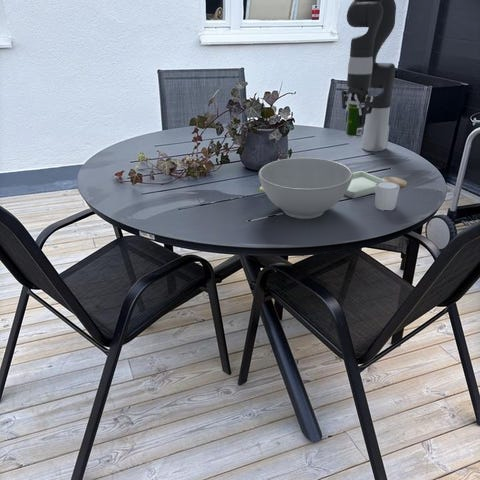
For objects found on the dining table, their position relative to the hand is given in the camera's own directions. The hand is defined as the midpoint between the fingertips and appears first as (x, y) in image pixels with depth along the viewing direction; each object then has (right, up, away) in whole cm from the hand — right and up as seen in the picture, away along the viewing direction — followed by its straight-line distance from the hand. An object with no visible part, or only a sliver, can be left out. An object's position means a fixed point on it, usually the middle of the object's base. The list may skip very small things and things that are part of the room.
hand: (355, 124), depth 155 cm
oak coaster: (+13, -20, 0) cm, 24 cm away
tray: (0, -21, -2) cm, 21 cm away
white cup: (+5, -29, -17) cm, 34 cm away
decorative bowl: (-20, -30, -17) cm, 40 cm away
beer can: (0, -4, +2) cm, 4 cm away
